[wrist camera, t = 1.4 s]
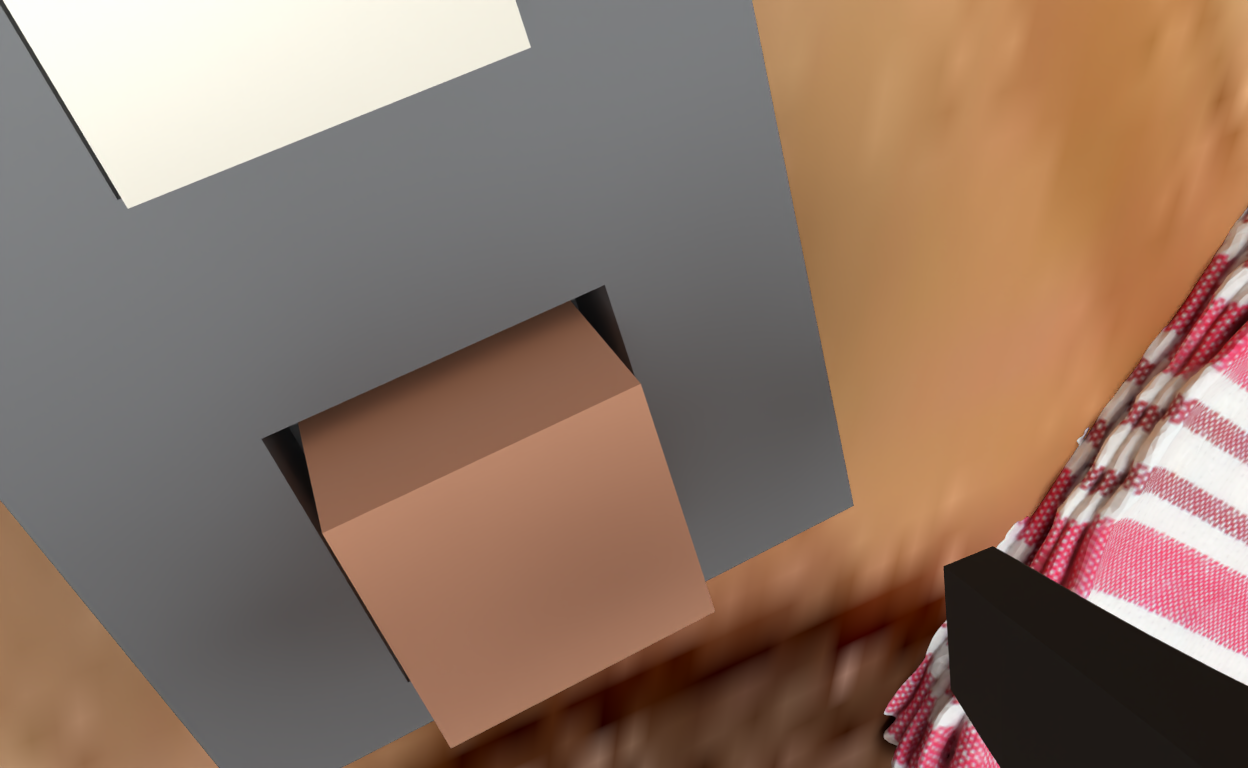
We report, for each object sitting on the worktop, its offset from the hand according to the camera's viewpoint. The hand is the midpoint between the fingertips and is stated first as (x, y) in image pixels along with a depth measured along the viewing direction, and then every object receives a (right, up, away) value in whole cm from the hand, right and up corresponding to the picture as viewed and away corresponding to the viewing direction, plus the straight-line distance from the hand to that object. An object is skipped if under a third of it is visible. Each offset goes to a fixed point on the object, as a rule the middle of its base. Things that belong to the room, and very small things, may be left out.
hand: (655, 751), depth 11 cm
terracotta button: (-3, +3, +5) cm, 6 cm away
